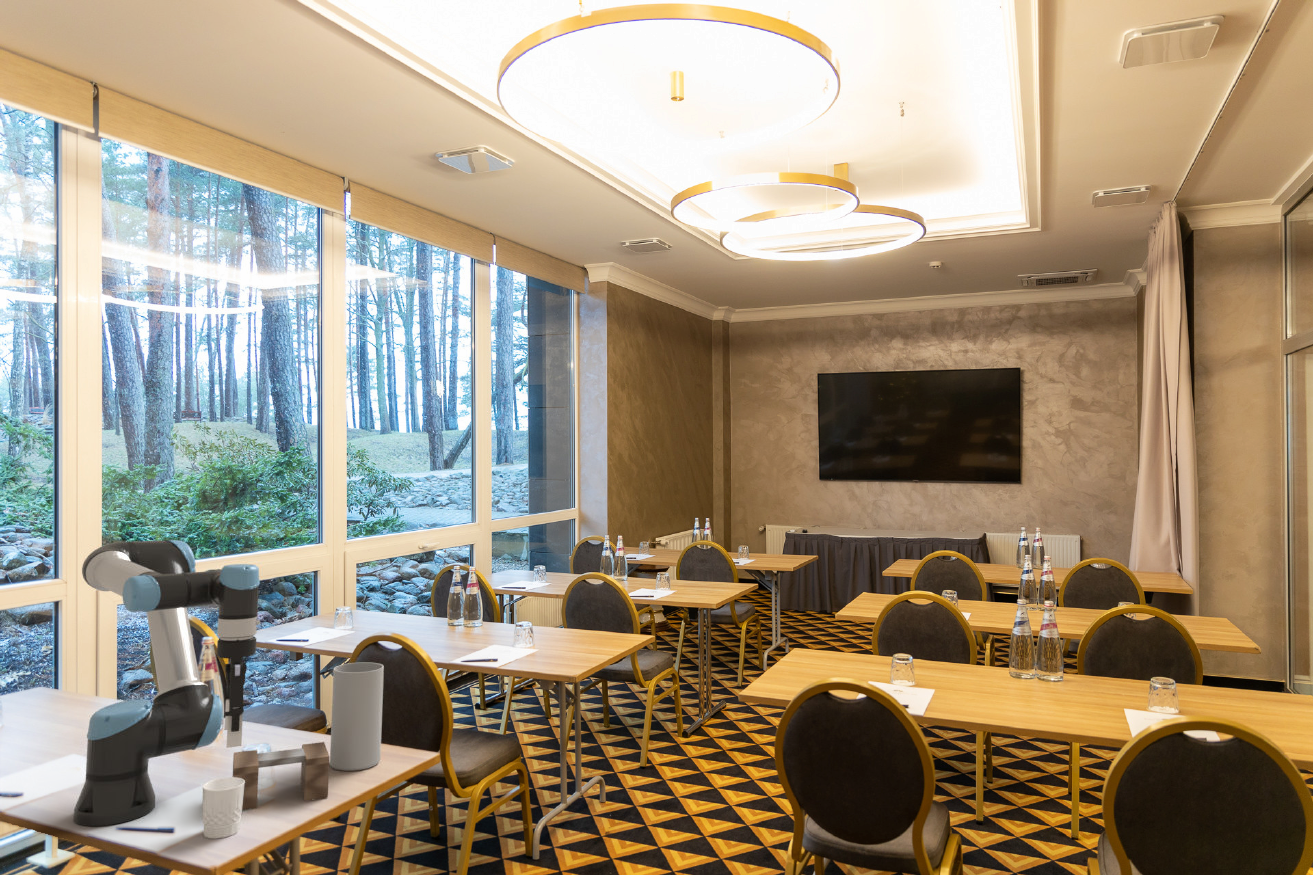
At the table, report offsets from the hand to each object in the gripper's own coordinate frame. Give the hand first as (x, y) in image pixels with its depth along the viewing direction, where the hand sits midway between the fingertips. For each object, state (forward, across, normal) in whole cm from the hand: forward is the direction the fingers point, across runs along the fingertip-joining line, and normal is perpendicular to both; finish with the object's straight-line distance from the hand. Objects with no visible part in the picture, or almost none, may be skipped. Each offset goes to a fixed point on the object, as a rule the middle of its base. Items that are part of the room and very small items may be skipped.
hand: (232, 737), depth 177 cm
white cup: (+19, -1, +1) cm, 19 cm away
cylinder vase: (+19, +31, -31) cm, 47 cm away
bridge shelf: (+19, +15, -11) cm, 27 cm away
